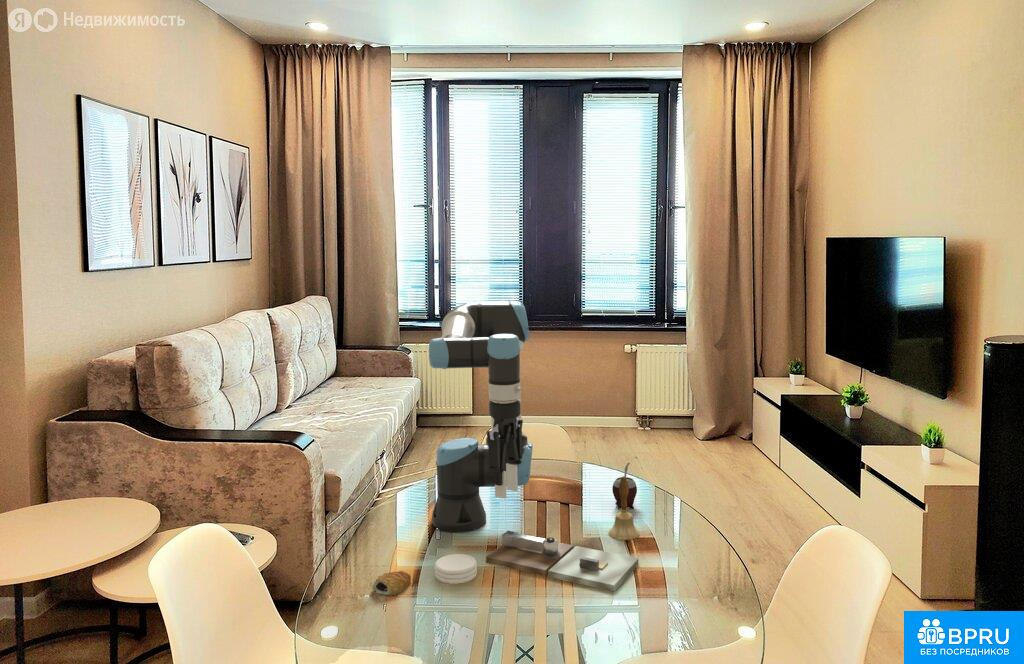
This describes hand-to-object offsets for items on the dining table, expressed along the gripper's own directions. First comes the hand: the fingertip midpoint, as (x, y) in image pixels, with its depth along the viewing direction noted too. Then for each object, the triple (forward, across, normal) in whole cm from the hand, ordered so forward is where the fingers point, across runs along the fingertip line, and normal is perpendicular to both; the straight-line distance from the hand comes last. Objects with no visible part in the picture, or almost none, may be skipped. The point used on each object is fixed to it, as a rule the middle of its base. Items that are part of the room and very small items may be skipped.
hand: (506, 493), depth 197 cm
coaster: (+19, -10, +9) cm, 23 cm away
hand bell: (+19, +32, -18) cm, 41 cm away
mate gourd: (+19, +50, -11) cm, 55 cm away
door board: (+19, +8, -11) cm, 23 cm away
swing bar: (+17, +7, -2) cm, 18 cm away
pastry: (+19, -22, +19) cm, 35 cm away
